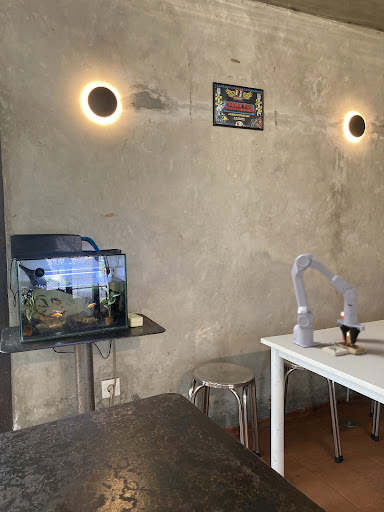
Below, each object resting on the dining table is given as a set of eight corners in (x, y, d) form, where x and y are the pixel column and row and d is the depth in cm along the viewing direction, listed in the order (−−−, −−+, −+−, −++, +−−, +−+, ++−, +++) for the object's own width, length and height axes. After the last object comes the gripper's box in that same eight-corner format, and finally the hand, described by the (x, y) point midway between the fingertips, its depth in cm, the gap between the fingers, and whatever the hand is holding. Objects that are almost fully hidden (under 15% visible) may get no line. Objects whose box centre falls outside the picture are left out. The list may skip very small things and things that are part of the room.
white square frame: (321, 350, 176) (321, 346, 176) (335, 348, 179) (335, 344, 179) (334, 356, 168) (334, 351, 168) (348, 353, 172) (348, 349, 172)
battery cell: (344, 346, 177) (344, 330, 176) (349, 345, 178) (350, 329, 178) (350, 348, 174) (350, 332, 173) (355, 347, 175) (355, 331, 175)
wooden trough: (335, 347, 180) (335, 342, 180) (345, 345, 183) (345, 341, 183) (355, 355, 169) (355, 350, 169) (365, 352, 172) (365, 348, 172)
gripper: (370, 315, 170) (369, 345, 171) (344, 309, 183) (344, 337, 184) (358, 317, 167) (358, 347, 168) (333, 311, 180) (333, 339, 181)
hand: (350, 342), depth 176 cm, fingers closed on battery cell, 3 cm apart
